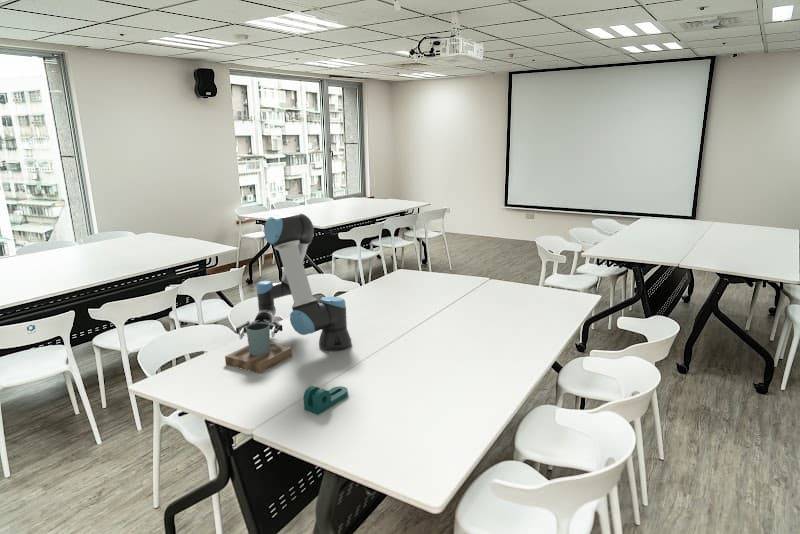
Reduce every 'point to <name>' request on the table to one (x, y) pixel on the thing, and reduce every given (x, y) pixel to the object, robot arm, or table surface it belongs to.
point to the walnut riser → (258, 358)
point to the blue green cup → (258, 338)
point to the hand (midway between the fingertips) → (256, 335)
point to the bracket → (323, 398)
